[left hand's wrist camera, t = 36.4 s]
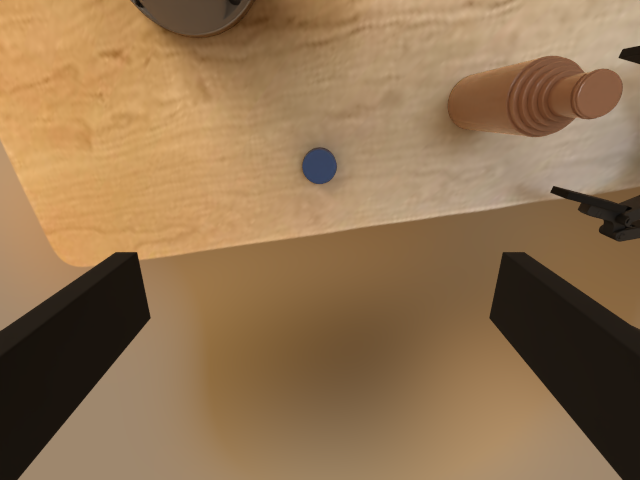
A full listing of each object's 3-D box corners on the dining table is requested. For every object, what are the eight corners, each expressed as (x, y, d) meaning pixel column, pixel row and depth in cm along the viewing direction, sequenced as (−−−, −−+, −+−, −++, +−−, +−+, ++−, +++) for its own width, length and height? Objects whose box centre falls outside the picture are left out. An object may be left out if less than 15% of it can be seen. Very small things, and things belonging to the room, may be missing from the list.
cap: (299, 175, 43) (298, 178, 41) (308, 143, 41) (307, 145, 39) (330, 184, 43) (331, 187, 41) (339, 152, 42) (340, 154, 40)
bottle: (463, 65, 38) (588, 24, 20) (509, 85, 39) (670, 63, 21) (438, 118, 40) (533, 124, 22) (483, 136, 41) (609, 155, 23)
